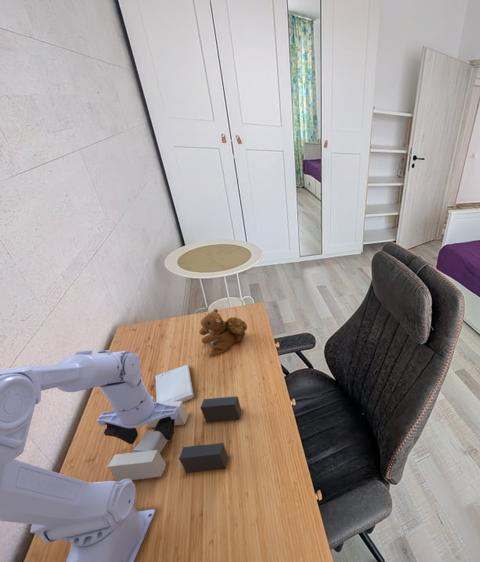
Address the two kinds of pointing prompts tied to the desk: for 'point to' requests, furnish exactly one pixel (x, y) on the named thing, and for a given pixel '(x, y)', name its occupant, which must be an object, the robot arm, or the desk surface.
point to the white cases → (144, 456)
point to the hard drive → (174, 385)
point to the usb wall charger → (151, 442)
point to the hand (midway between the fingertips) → (152, 437)
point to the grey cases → (213, 453)
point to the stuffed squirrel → (221, 331)
